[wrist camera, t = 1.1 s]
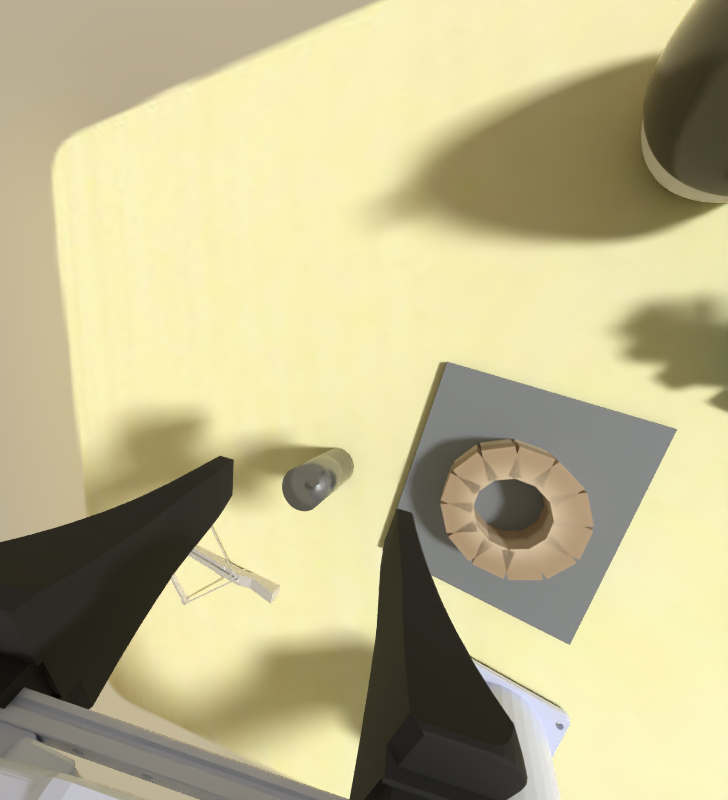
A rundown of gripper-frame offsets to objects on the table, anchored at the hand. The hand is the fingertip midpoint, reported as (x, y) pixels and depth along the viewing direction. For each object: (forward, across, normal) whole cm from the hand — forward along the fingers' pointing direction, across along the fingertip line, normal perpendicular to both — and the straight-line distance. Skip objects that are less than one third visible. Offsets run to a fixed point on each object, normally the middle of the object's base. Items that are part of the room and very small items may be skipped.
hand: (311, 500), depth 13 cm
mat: (+9, -12, +4) cm, 16 cm away
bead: (+8, -12, +4) cm, 15 cm away
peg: (+11, 0, +7) cm, 13 cm away
